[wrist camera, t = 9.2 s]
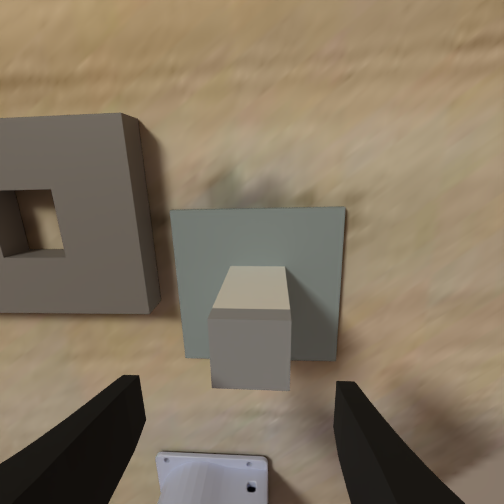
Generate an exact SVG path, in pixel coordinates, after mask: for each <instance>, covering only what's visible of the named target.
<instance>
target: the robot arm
mask: <svg viewBox="0 0 504 504" xmlns="http://www.w3.org/2000/svg"><path fill="white" fill-rule="evenodd" d="M145 421H146V416H145V409H144V403H143V397H142V391H141V384H140V378H139V375H123V376H121V377H120V378H118V379H117V380H116V381H114V382H113V383H112V384H110V385H109V386H108V387H107V388H105V389H104V390H103V391H101V392H100V393H99V394H98V395H96V396H95V397H94V398H92V399H91V400H90V401H89V402H87V403H86V404H85V405H83V406H82V407H81V408H79V409H78V410H77V411H76V412H74V413H73V414H72V415H70V416H69V417H68V418H66V419H65V420H64V421H62V422H61V423H59V424H58V425H57V426H55V427H54V428H52V429H51V430H50V431H48V432H47V433H45V434H44V435H43V436H41V437H40V438H39V439H37V440H36V441H34V442H33V443H31V444H30V445H28V446H27V447H26V448H24V449H23V450H21V451H20V452H18V453H16V454H15V455H13V456H12V457H10V458H9V459H7V460H6V461H4V462H2V463H1V464H0V504H108V503H109V501H110V499H111V497H112V495H113V493H114V491H115V489H116V487H117V485H118V483H119V481H120V479H121V477H122V475H123V473H124V471H125V469H126V467H127V465H128V463H129V461H130V459H131V457H132V455H133V453H134V451H135V448H136V446H137V443H138V441H139V438H140V435H141V433H142V430H143V427H144V424H145ZM333 428H334V434H335V440H336V446H337V451H338V457H339V461H340V465H341V469H342V472H343V476H344V480H345V483H346V487H347V491H348V494H349V498H350V501H351V504H465V503H464V502H463V501H462V500H461V499H460V498H459V497H458V496H457V495H455V493H453V492H452V491H451V490H450V489H449V488H448V487H447V486H446V485H445V484H444V483H443V482H442V481H441V480H440V479H439V478H438V477H437V476H436V475H435V474H434V473H433V472H432V471H431V470H430V469H429V468H428V467H427V466H426V465H425V464H424V463H423V462H422V461H421V460H420V458H419V457H418V456H417V455H416V454H415V453H414V452H413V451H412V450H411V449H410V448H409V447H408V446H407V444H406V443H405V442H404V441H403V440H402V439H401V438H400V437H399V435H398V434H397V433H396V432H395V431H394V430H393V428H392V427H391V426H390V425H389V424H388V423H387V422H386V420H385V419H384V418H383V417H382V416H381V414H380V413H379V412H378V411H377V409H376V408H375V407H374V406H373V404H372V403H371V402H370V401H369V399H368V398H367V397H366V395H365V394H364V393H363V392H362V390H361V389H360V388H359V386H358V385H357V384H356V383H355V382H351V381H337V382H336V396H335V411H334V425H333ZM156 465H157V471H158V477H159V483H160V490H161V495H160V497H159V500H158V503H157V504H268V460H267V459H266V458H265V457H263V456H246V455H225V454H203V453H182V452H159V453H158V454H157V456H156Z"/></svg>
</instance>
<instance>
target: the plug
mask: <svg viewBox="0 0 504 504" xmlns="http://www.w3.org/2000/svg"><path fill="white" fill-rule="evenodd" d="M207 321H208V336H209V351H210V366H211V381H212V388H223V389H249V390H275V391H290V361H291V313H290V304H289V296H288V288H287V280H286V272H285V266H230V268H229V271H228V273H227V275H226V277H225V280H224V282H223V284H222V287H221V289H220V291H219V293H218V296H217V298H216V300H215V303H214V305H213V307H212V309H211V312H210V314H209V316H208V319H207Z"/></svg>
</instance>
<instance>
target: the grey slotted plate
mask: <svg viewBox="0 0 504 504" xmlns="http://www.w3.org/2000/svg"><path fill="white" fill-rule="evenodd" d="M39 189H51V192H52V196H53V201H54V205H55V210H56V214H57V219H58V224H59V228H60V233H61V237H62V242H63V246H64V249H29V246H28V242H27V239H26V235H25V231H24V227H23V223H22V219H21V215H20V211H19V207H18V203H17V199H16V195H15V191H14V190H39ZM160 301H161V296H160V288H159V280H158V273H157V265H156V257H155V249H154V241H153V233H152V226H151V218H150V210H149V202H148V194H147V186H146V179H145V171H144V163H143V155H142V147H141V139H140V132H139V124H138V119H137V118H134V117H131V116H128V115H126V114H123V113H104V114H82V115H60V116H38V117H16V118H0V313H88V314H150V313H151V312H152V311H153V309H154V308H155V307H156V306H157V305H158V304H159V302H160Z"/></svg>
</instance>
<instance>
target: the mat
mask: <svg viewBox="0 0 504 504" xmlns="http://www.w3.org/2000/svg"><path fill="white" fill-rule="evenodd" d="M170 218H171V227H172V237H173V246H174V255H175V264H176V274H177V283H178V292H179V301H180V311H181V320H182V329H183V338H184V348H185V357H186V358H207V359H210V351H209V336H208V321H207V319H208V316H209V314H210V312H211V309H212V307H213V305H214V303H215V300H216V298H217V296H218V293H219V291H220V289H221V287H222V284H223V282H224V280H225V277H226V275H227V273H228V271H229V268H230V266H285V272H286V280H287V288H288V296H289V304H290V313H291V360H302V361H336V349H337V334H338V318H339V302H340V286H341V270H342V254H343V238H344V222H345V207H294V208H241V209H188V210H170Z"/></svg>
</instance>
